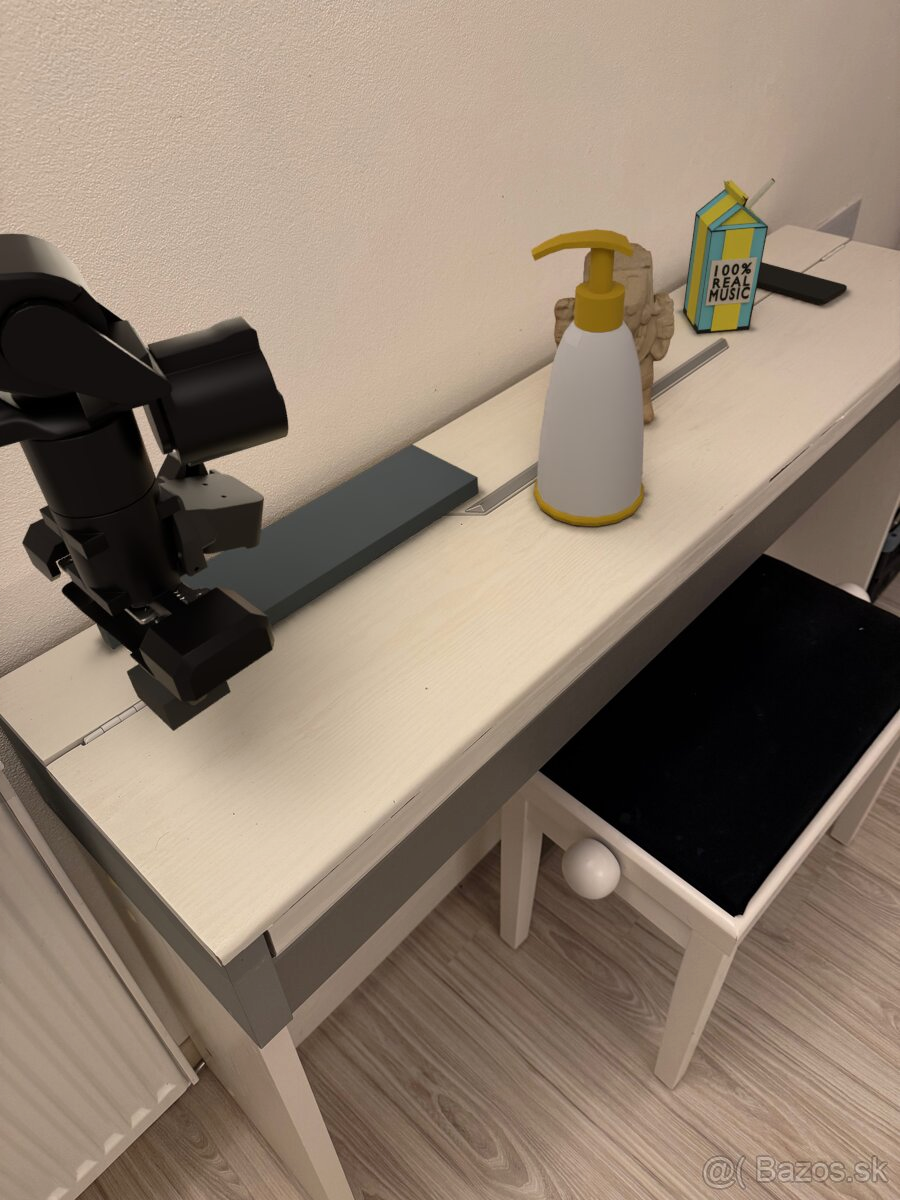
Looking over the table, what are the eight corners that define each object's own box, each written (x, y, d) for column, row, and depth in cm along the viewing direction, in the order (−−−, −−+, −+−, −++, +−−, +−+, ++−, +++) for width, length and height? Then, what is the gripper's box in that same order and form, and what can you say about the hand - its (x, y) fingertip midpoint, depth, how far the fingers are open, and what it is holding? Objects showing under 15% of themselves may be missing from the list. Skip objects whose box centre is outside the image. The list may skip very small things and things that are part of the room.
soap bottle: (525, 469, 93) (525, 216, 75) (633, 462, 92) (658, 207, 75) (535, 533, 84) (538, 265, 67) (653, 526, 84) (687, 255, 67)
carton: (756, 329, 114) (784, 184, 102) (697, 334, 114) (718, 190, 102) (738, 306, 120) (762, 166, 107) (682, 311, 119) (700, 171, 107)
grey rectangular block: (162, 696, 71) (155, 680, 70) (103, 639, 77) (95, 623, 75) (478, 492, 90) (477, 477, 89) (413, 459, 95) (411, 443, 94)
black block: (137, 696, 58) (125, 671, 56) (194, 660, 60) (184, 634, 58) (173, 731, 55) (162, 706, 54) (231, 692, 58) (222, 666, 56)
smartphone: (755, 259, 129) (849, 285, 120) (754, 265, 130) (847, 291, 121) (728, 273, 126) (823, 300, 117) (727, 279, 126) (822, 306, 118)
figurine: (554, 441, 97) (559, 262, 83) (548, 408, 102) (552, 235, 89) (669, 434, 96) (693, 254, 83) (657, 402, 101) (677, 227, 88)
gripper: (325, 484, 45) (362, 683, 56) (142, 379, 56) (202, 564, 66) (141, 590, 40) (220, 789, 50) (-26, 452, 50) (69, 642, 60)
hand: (178, 682), depth 57 cm, fingers closed on black block, 4 cm apart
